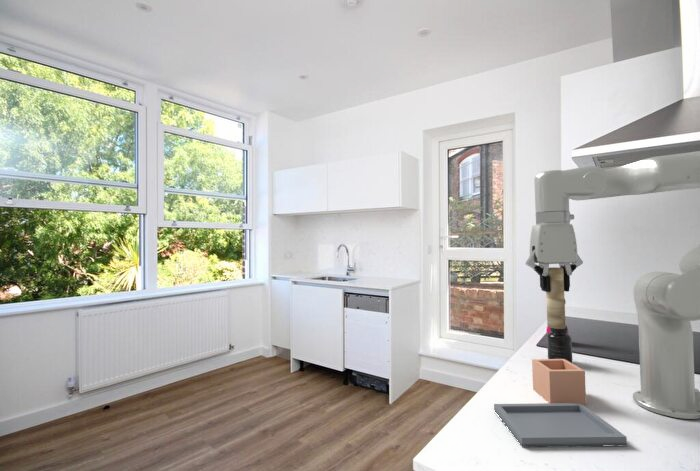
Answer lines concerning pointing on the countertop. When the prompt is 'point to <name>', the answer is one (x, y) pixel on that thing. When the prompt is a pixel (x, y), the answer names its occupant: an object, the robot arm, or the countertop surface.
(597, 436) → the tray
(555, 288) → the dowel
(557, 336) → the supplement bottle
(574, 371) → the deep cup
